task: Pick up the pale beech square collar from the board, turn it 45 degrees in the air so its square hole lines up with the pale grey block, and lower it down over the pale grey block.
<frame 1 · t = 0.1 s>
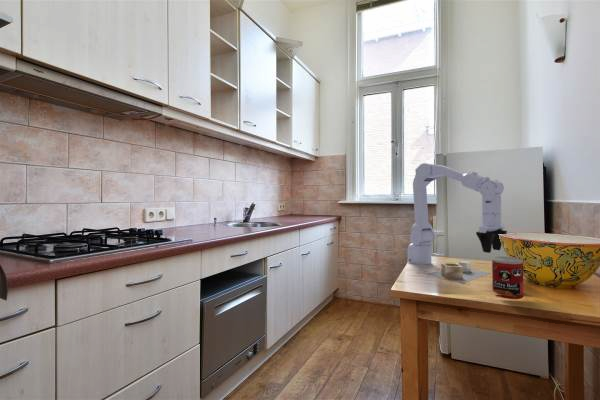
hand: (491, 251, 107), 10 cm above the table, tool pointing down, fingers open, 7 cm apart
pale grey block: (465, 274, 113), resting on board
board: (458, 276, 111), on the table
collar: (451, 275, 108), point 1 cm above the table, touching board
canned food: (507, 295, 90), on the table
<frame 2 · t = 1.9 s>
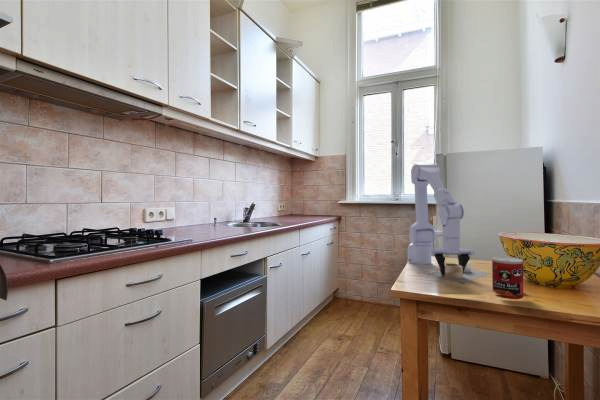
hand: (451, 274, 108), 2 cm above the table, tool pointing down, fingers closed on collar, 6 cm apart
collar: (451, 275, 108), point 1 cm above the table, touching board, gripper
everything else where it was.
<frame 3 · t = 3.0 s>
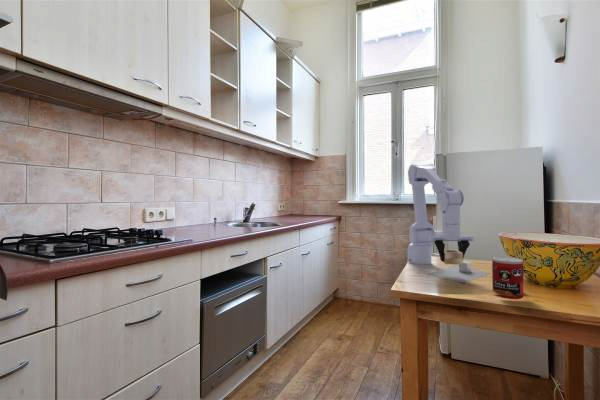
hand: (451, 261, 108), 7 cm above the table, tool pointing down, fingers closed on collar, 6 cm apart
collar: (451, 262, 108), point 6 cm above the table, touching gripper
everything else where it was.
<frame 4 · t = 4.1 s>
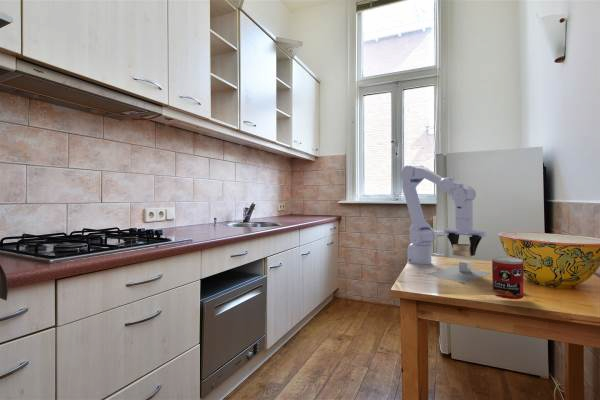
hand: (464, 254, 113), 8 cm above the table, tool pointing down, fingers closed on collar, 6 cm apart
collar: (464, 255, 113), point 7 cm above the table, touching gripper
everything else where it was.
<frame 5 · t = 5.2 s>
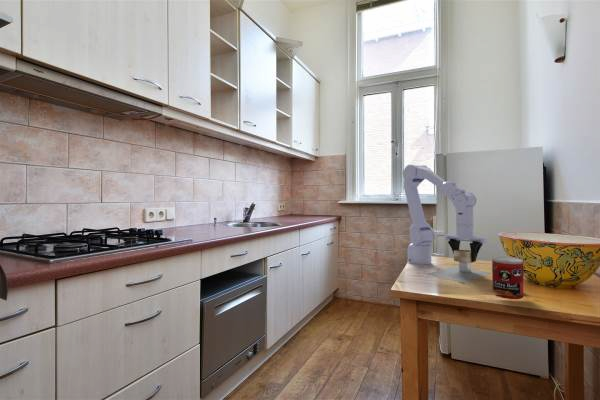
hand: (465, 260, 113), 6 cm above the table, tool pointing down, fingers closed on collar, 6 cm apart
collar: (465, 261, 113), point 5 cm above the table, touching gripper
everything else where it was.
when the fingers open (3 cm above the table, at t = 6.2 s): collar drops 1 cm, resting on board.
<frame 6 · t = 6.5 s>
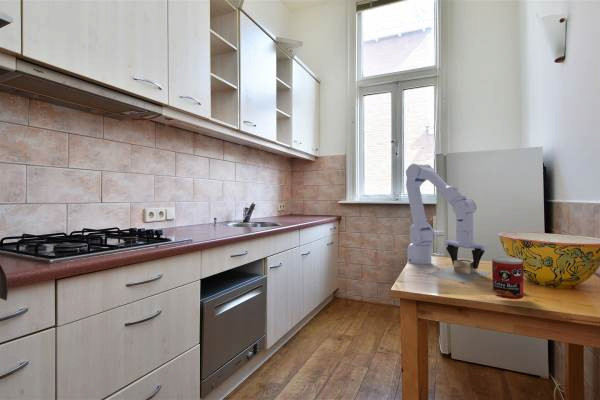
hand: (465, 266, 113), 3 cm above the table, tool pointing down, fingers open, 7 cm apart
collar: (465, 271, 113), point 1 cm above the table, touching board
everything else where it was.
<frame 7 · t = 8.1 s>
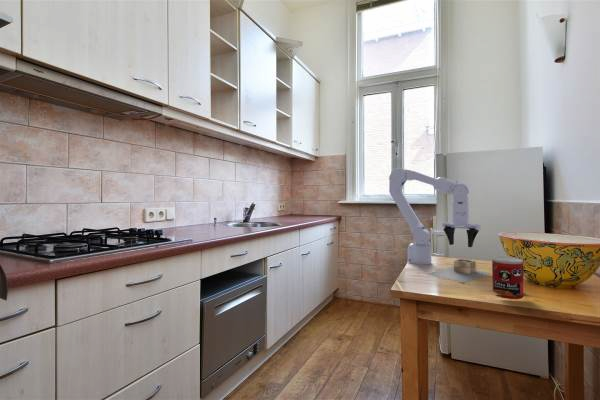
hand: (460, 245, 123), 9 cm above the table, tool pointing down, fingers open, 7 cm apart
nothing on the table moved.
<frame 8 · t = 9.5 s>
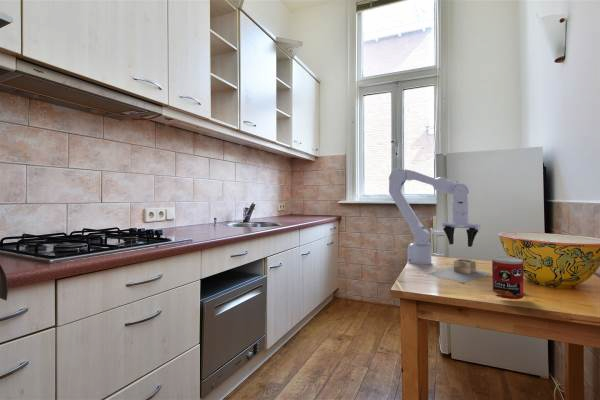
hand: (460, 245, 123), 9 cm above the table, tool pointing down, fingers open, 7 cm apart
nothing on the table moved.
at the end: collar 0.0 cm off-centre on the pale grey block, point 1.2 cm above the pale grey block's base; collar tilted 0°; the gripper is holding nothing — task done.
